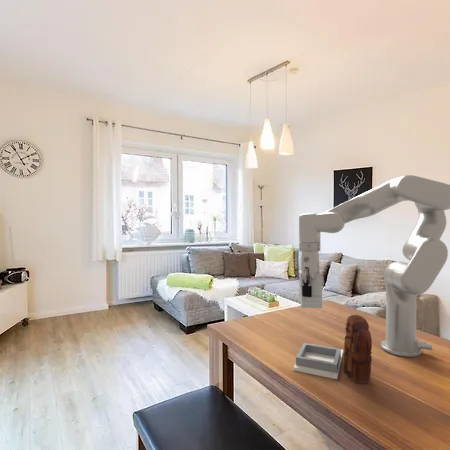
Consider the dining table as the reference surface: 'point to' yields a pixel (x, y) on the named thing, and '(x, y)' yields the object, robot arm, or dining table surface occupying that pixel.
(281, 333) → the dining table surface
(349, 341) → the wooden figurine
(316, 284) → the supplement box
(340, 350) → the caddy
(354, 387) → the dining table surface
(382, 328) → the dining table surface
